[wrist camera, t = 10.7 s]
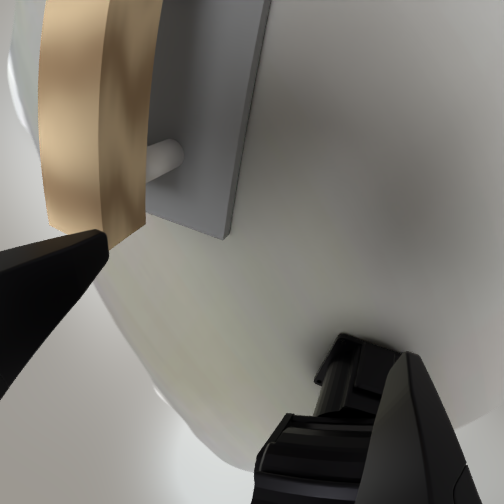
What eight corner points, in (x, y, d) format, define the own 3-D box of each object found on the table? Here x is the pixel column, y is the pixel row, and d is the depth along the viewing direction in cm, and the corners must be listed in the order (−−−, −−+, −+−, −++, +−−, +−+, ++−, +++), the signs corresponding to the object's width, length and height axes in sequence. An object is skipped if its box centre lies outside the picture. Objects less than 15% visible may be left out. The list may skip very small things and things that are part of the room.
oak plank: (145, 224, 18) (105, 253, 15) (88, 202, 19) (49, 225, 16) (183, -87, 8) (139, -110, 5) (111, -68, 9) (66, -79, 6)
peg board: (229, 233, 22) (193, 271, 18) (103, 189, 25) (60, 213, 21) (288, -82, 10) (258, -121, 6) (130, -64, 12) (82, -77, 8)
